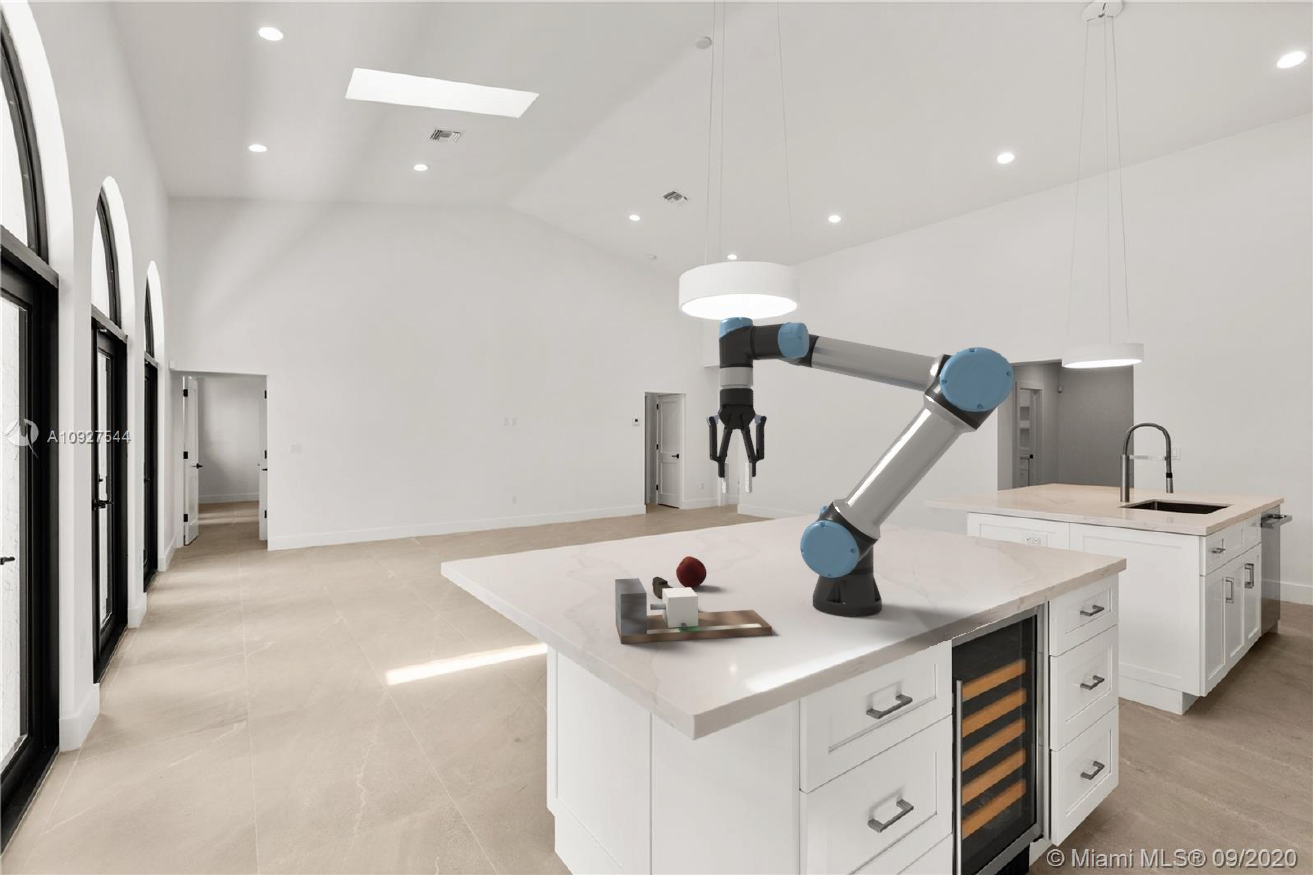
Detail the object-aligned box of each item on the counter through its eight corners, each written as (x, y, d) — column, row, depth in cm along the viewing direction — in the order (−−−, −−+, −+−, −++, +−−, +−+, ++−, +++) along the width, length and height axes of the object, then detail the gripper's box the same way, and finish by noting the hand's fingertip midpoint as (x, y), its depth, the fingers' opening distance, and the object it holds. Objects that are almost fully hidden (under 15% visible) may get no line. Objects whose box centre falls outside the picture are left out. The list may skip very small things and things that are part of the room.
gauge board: (753, 616, 136) (753, 573, 136) (771, 634, 124) (771, 586, 124) (615, 624, 132) (615, 579, 131) (621, 643, 120) (620, 594, 120)
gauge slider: (690, 615, 131) (690, 587, 131) (701, 630, 122) (700, 599, 122) (648, 618, 130) (648, 589, 130) (655, 633, 121) (655, 601, 120)
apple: (678, 583, 166) (677, 553, 166) (707, 584, 165) (707, 554, 165) (675, 590, 158) (674, 559, 158) (705, 591, 157) (705, 560, 157)
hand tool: (696, 612, 140) (696, 592, 140) (679, 614, 139) (679, 593, 139) (663, 592, 158) (663, 574, 158) (649, 594, 157) (649, 575, 157)
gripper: (768, 389, 145) (769, 489, 145) (694, 389, 142) (694, 491, 143) (780, 387, 138) (780, 492, 138) (701, 386, 135) (702, 495, 135)
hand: (737, 492), depth 140 cm, fingers open, 5 cm apart
